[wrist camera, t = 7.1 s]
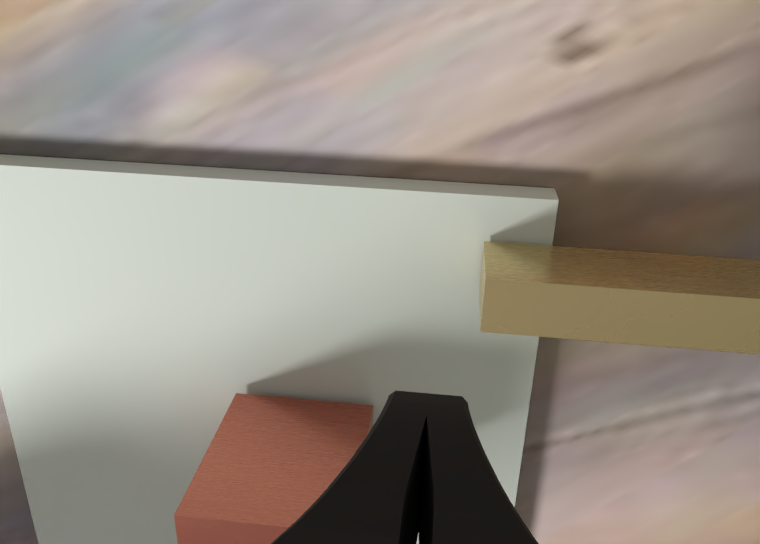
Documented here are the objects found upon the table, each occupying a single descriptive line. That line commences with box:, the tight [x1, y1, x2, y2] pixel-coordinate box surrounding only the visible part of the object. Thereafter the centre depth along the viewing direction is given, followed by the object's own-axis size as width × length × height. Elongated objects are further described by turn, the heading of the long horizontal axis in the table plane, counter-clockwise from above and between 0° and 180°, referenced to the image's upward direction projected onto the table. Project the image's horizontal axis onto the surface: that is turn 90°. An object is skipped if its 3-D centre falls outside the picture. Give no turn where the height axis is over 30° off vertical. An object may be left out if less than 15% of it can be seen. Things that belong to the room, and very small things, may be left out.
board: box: [0, 154, 559, 544], centre depth 26 cm, size 18×25×1 cm
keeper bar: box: [479, 241, 760, 354], centre depth 18 cm, size 8×2×2 cm, turn 88°
